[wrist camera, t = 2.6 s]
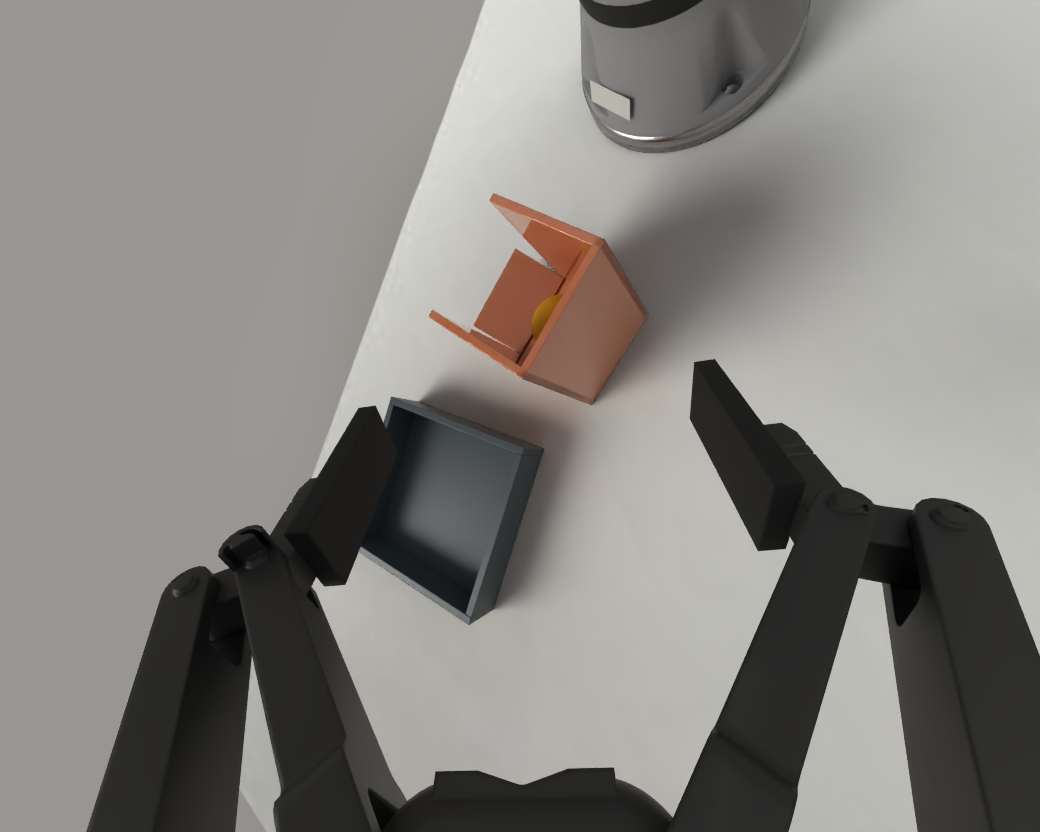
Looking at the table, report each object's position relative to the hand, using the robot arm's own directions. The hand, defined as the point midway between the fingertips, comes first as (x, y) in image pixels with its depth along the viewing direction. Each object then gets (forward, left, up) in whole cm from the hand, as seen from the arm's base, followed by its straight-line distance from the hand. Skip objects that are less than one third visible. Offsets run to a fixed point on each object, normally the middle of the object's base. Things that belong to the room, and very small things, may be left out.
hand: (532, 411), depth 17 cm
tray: (+10, -13, -16) cm, 23 cm away
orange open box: (-7, -7, -16) cm, 18 cm away
